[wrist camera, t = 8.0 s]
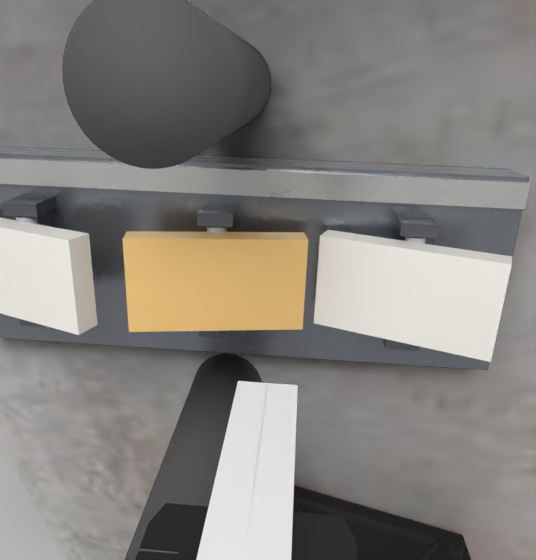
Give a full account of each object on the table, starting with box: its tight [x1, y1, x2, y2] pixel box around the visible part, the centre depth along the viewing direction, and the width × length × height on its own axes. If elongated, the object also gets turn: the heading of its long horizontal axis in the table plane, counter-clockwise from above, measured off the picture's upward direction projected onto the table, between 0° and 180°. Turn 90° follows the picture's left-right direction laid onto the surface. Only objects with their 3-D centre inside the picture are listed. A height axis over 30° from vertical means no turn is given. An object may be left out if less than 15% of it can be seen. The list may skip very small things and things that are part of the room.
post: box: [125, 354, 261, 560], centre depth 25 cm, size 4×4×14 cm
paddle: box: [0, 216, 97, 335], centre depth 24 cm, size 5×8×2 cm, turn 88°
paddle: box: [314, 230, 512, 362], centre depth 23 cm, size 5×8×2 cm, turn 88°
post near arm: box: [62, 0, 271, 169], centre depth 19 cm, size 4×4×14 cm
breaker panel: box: [0, 146, 531, 370], centre depth 26 cm, size 10×28×4 cm, turn 88°
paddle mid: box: [122, 226, 308, 332], centre depth 24 cm, size 5×8×2 cm, turn 88°
